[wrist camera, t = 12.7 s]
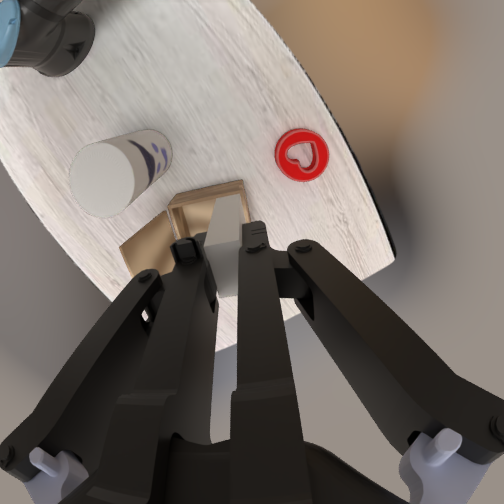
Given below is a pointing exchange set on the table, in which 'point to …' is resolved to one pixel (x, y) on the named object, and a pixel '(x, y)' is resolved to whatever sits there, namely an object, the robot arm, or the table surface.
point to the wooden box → (201, 207)
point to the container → (118, 171)
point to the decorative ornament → (292, 165)
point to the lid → (150, 247)
